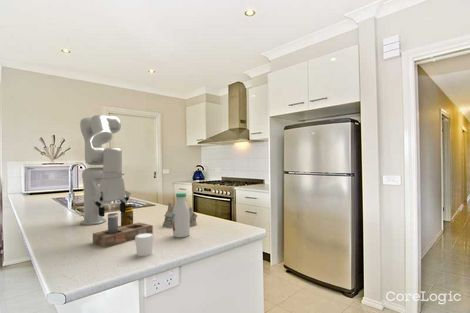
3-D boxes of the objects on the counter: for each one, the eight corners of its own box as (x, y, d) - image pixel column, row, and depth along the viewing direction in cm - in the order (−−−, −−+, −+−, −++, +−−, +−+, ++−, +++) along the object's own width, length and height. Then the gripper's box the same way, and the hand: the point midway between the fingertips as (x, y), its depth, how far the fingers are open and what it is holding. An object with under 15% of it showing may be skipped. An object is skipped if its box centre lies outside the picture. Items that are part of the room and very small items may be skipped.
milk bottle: (192, 233, 124) (192, 192, 124) (184, 238, 116) (184, 194, 117) (178, 232, 126) (178, 191, 126) (169, 237, 119) (169, 194, 119)
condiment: (135, 227, 136) (135, 205, 136) (117, 230, 131) (117, 206, 131) (132, 224, 142) (132, 203, 142) (115, 227, 137) (115, 204, 137)
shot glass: (138, 250, 102) (138, 233, 102) (155, 249, 102) (155, 232, 102) (132, 257, 95) (132, 238, 95) (151, 256, 96) (151, 237, 96)
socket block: (92, 242, 112) (92, 233, 112) (138, 230, 131) (138, 222, 131) (106, 247, 105) (106, 237, 105) (153, 233, 124) (153, 225, 124)
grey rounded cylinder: (105, 241, 113) (105, 214, 113) (114, 239, 117) (114, 212, 117) (111, 243, 111) (110, 215, 111) (119, 240, 114) (119, 213, 114)
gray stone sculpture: (159, 224, 141) (160, 197, 141) (184, 220, 153) (185, 195, 152) (174, 232, 130) (176, 202, 130) (200, 227, 142) (201, 200, 141)
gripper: (125, 174, 123) (125, 209, 123) (88, 176, 109) (88, 216, 109) (134, 174, 119) (134, 211, 119) (97, 177, 105) (97, 219, 105)
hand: (112, 213), depth 114 cm, fingers open, 9 cm apart
